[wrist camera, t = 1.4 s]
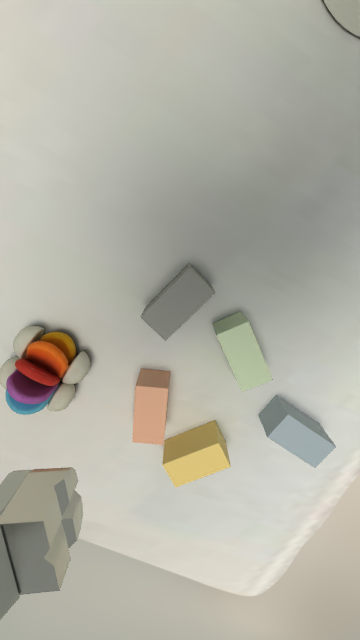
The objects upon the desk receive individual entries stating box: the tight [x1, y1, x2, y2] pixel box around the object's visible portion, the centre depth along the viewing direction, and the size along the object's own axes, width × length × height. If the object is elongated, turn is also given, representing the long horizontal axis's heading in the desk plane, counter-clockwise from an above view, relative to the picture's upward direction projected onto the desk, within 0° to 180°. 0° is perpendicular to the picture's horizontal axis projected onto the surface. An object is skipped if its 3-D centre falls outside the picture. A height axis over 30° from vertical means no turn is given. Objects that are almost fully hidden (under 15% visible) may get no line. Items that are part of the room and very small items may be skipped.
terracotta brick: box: [133, 369, 170, 445], centre depth 36 cm, size 7×4×4 cm, turn 175°
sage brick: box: [213, 311, 273, 392], centre depth 34 cm, size 7×4×4 cm, turn 25°
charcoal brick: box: [141, 263, 215, 341], centre depth 33 cm, size 7×4×4 cm, turn 135°
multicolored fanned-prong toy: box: [0, 326, 91, 414], centre depth 34 cm, size 8×10×7 cm
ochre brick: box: [163, 420, 231, 487], centre depth 37 cm, size 7×4×4 cm, turn 115°
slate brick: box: [259, 395, 336, 468], centre depth 37 cm, size 7×4×4 cm, turn 55°
